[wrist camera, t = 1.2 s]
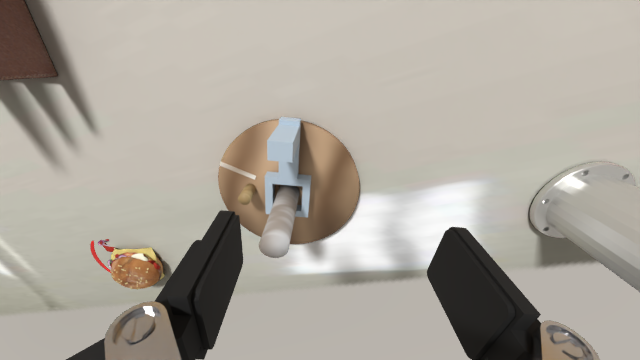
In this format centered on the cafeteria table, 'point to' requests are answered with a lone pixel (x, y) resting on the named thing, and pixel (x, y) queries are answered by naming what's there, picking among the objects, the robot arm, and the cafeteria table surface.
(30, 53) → the letter holder
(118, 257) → the hamburger
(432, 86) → the cafeteria table surface
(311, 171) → the post base
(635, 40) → the cafeteria table surface
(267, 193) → the blue square ring handle
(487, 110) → the cafeteria table surface
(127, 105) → the cafeteria table surface
